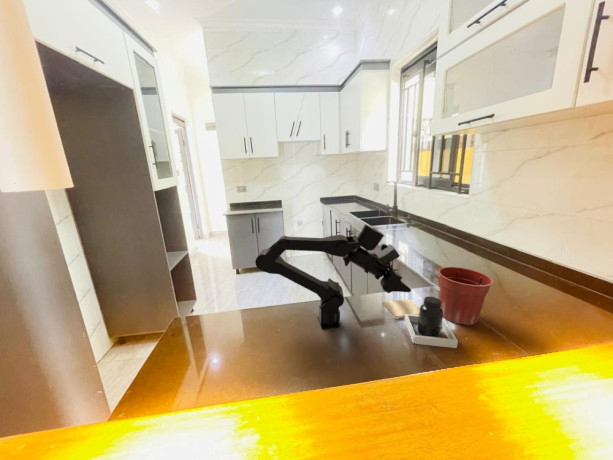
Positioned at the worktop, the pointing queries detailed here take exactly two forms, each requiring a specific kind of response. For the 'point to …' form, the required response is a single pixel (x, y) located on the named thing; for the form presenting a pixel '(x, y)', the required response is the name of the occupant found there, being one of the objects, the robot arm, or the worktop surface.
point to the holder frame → (432, 341)
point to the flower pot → (462, 294)
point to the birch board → (401, 308)
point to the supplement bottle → (430, 317)
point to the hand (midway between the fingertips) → (405, 284)
